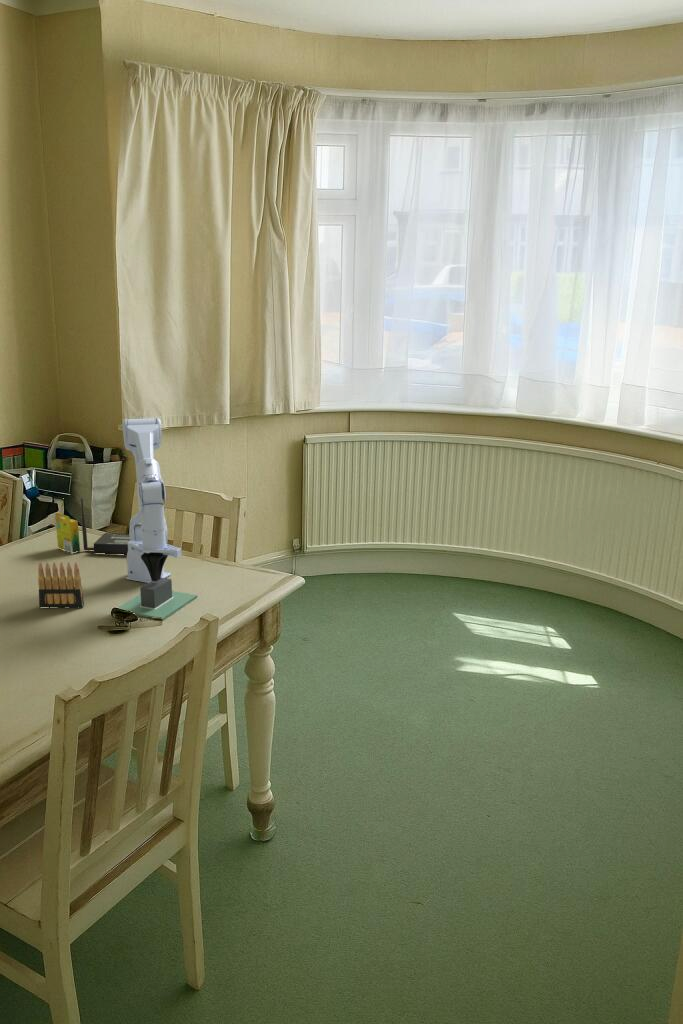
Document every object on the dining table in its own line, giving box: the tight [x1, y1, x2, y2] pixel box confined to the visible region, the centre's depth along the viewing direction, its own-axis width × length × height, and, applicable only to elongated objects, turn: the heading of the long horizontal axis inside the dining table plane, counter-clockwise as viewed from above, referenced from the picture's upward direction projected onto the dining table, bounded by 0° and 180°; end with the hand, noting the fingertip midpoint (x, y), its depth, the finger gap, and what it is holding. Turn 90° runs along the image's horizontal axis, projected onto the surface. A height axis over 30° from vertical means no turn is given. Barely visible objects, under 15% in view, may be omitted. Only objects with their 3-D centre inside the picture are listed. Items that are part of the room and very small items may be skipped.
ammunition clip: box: [37, 562, 85, 609], centre depth 213 cm, size 11×2×12 cm, turn 93°
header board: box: [117, 590, 198, 621], centre depth 217 cm, size 14×16×3 cm
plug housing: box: [140, 577, 173, 609], centre depth 216 cm, size 4×8×5 cm, turn 159°
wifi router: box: [80, 497, 130, 555], centre depth 255 cm, size 20×14×17 cm
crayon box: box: [54, 512, 81, 552], centre depth 253 cm, size 7×3×12 cm, turn 52°
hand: (156, 579), depth 215 cm, fingers closed
